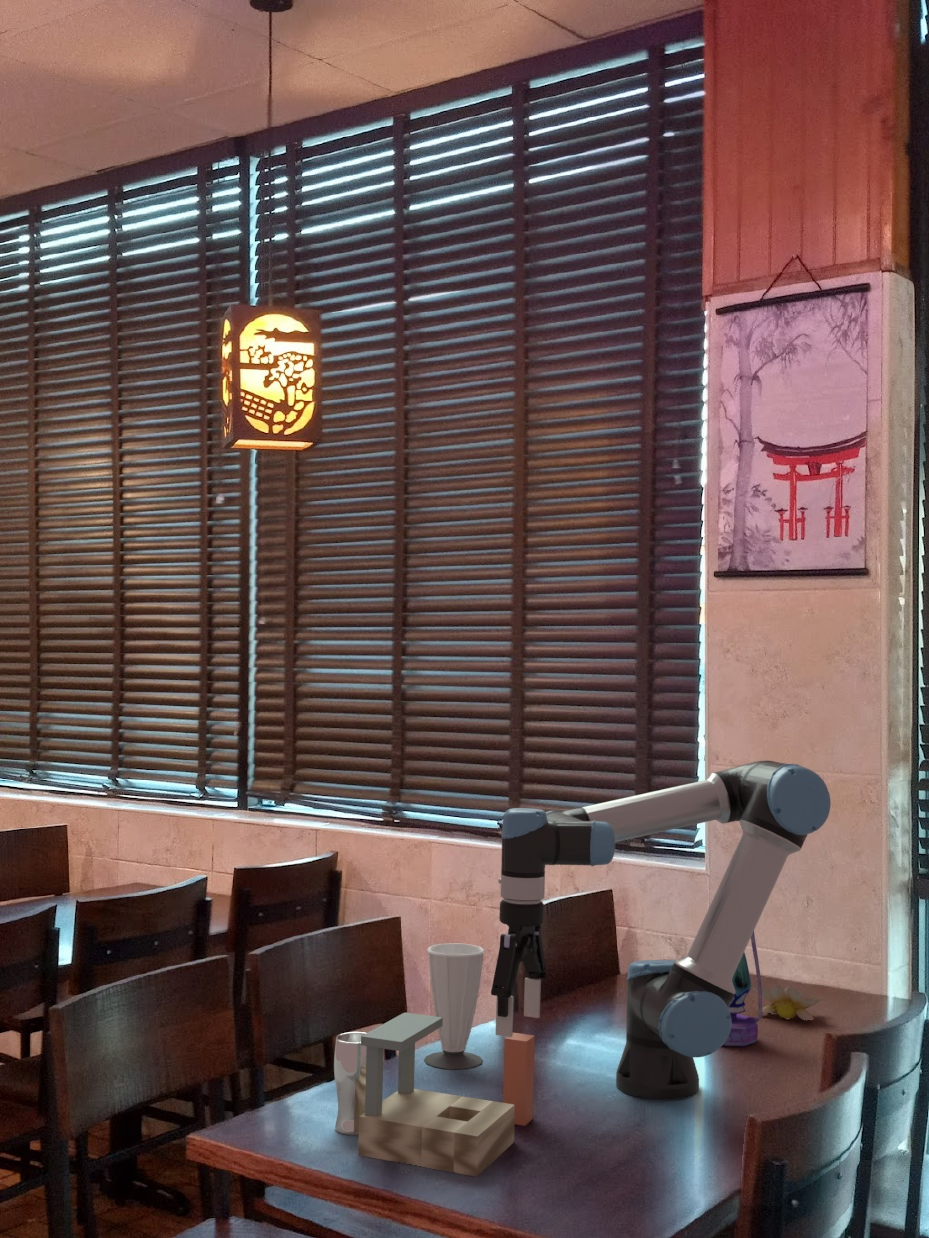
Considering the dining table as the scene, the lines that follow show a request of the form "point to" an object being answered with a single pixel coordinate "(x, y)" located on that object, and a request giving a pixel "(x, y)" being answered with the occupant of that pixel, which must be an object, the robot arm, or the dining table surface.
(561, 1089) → the dining table surface
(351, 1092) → the beer glass
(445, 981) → the cup
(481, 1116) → the socket block
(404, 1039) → the grey toy table
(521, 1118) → the peg
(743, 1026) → the lantern
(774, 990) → the decorative flower
